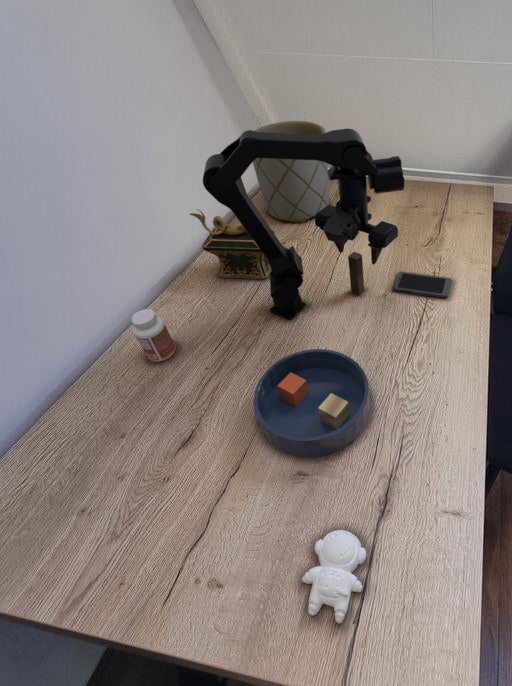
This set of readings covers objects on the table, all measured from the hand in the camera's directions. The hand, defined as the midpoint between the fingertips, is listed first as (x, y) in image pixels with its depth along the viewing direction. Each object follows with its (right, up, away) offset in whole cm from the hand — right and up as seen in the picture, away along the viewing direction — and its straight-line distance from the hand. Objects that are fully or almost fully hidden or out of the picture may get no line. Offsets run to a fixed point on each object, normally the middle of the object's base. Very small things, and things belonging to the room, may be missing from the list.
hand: (357, 257), depth 104 cm
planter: (-20, +22, +43) cm, 53 cm away
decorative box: (-32, -1, +20) cm, 38 cm away
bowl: (-8, -32, -16) cm, 36 cm away
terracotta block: (-12, -29, -14) cm, 35 cm away
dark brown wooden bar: (0, -7, +10) cm, 12 cm away
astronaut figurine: (-2, -52, -38) cm, 64 cm away
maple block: (-4, -33, -18) cm, 38 cm away
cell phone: (+16, -6, +10) cm, 20 cm away
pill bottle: (-44, -22, -3) cm, 49 cm away
